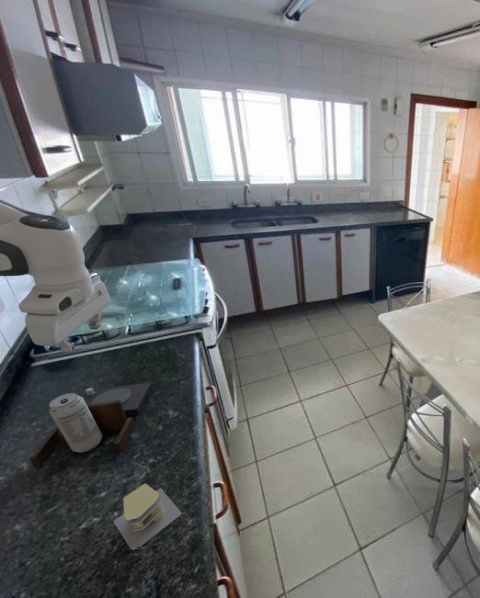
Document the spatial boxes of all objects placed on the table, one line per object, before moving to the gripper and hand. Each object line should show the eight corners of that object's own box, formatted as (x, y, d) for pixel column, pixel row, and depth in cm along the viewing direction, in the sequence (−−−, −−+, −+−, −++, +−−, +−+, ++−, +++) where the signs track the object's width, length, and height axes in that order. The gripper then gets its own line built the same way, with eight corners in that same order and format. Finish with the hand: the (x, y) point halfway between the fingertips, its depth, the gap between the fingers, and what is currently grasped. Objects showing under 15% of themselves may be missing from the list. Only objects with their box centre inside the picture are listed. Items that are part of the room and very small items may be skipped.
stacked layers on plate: (113, 521, 68) (103, 504, 66) (160, 487, 75) (153, 471, 73) (132, 552, 63) (123, 536, 61) (182, 513, 70) (175, 497, 67)
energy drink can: (100, 431, 88) (78, 387, 81) (106, 443, 84) (82, 399, 78) (70, 445, 84) (44, 400, 77) (75, 458, 80) (47, 413, 74)
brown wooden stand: (34, 467, 78) (19, 439, 74) (57, 436, 86) (44, 410, 82) (121, 451, 83) (111, 425, 79) (135, 423, 91) (126, 398, 87)
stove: (68, 424, 89) (63, 414, 88) (89, 395, 99) (86, 386, 98) (138, 414, 94) (135, 404, 93) (152, 387, 105) (149, 378, 103)
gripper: (82, 269, 83) (95, 315, 89) (10, 309, 65) (33, 364, 71) (111, 271, 84) (122, 317, 90) (48, 312, 66) (68, 365, 72)
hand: (83, 338), depth 80 cm, fingers open, 8 cm apart
